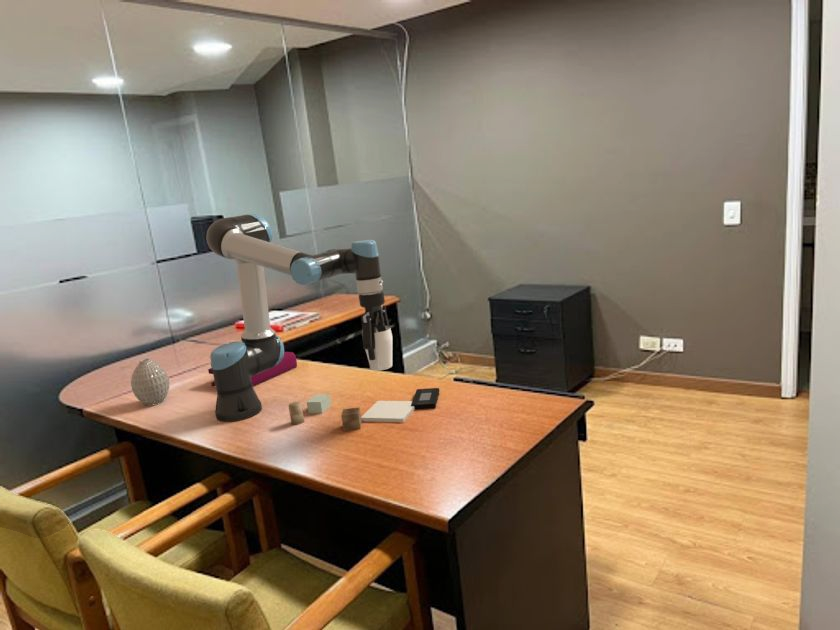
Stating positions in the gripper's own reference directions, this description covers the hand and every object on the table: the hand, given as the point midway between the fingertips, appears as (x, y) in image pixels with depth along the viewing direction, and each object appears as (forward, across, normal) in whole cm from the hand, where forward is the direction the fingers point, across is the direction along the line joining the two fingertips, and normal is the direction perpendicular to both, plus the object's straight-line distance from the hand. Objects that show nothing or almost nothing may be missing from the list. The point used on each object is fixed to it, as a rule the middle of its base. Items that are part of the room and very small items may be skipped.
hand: (381, 364), depth 190 cm
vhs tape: (+17, +11, -9) cm, 22 cm away
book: (+16, +34, +72) cm, 82 cm away
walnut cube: (+16, -10, +7) cm, 21 cm away
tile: (+16, +1, 0) cm, 16 cm away
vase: (+15, +5, +96) cm, 98 cm away
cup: (+1, 0, 0) cm, 1 cm away
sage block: (+16, +2, +26) cm, 30 cm away
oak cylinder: (+16, -9, +27) cm, 33 cm away
